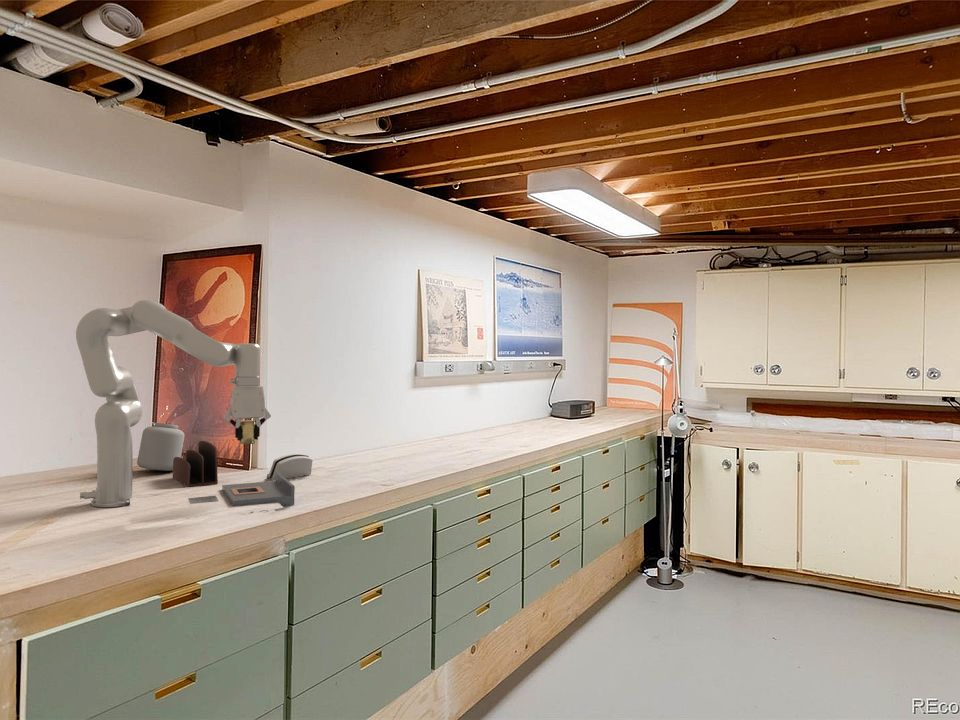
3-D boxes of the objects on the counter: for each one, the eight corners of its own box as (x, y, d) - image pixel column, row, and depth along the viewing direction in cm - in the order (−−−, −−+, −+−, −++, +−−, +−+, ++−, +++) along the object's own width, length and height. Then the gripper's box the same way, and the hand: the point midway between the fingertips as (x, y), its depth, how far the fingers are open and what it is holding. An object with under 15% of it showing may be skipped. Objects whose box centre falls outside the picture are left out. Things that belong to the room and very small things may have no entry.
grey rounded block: (303, 472, 254) (309, 449, 252) (310, 478, 251) (316, 455, 249) (265, 478, 241) (270, 454, 239) (271, 485, 238) (277, 460, 236)
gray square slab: (190, 508, 197) (190, 503, 196) (188, 502, 204) (188, 498, 203) (218, 506, 200) (218, 501, 200) (215, 500, 207) (215, 495, 207)
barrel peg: (241, 444, 205) (241, 422, 204) (238, 442, 209) (238, 420, 208) (256, 443, 207) (256, 421, 207) (253, 441, 211) (253, 420, 211)
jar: (169, 465, 264) (170, 403, 263) (196, 468, 258) (197, 405, 257) (127, 473, 247) (128, 407, 246) (156, 477, 241) (156, 409, 240)
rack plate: (233, 511, 195) (233, 491, 195) (222, 494, 216) (222, 476, 216) (294, 504, 204) (294, 485, 203) (278, 489, 225) (278, 471, 224)
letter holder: (200, 475, 246) (200, 438, 246) (217, 484, 231) (218, 445, 230) (172, 478, 240) (172, 440, 239) (188, 488, 224) (188, 447, 224)
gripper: (220, 383, 200) (220, 442, 200) (277, 382, 208) (277, 439, 208) (217, 382, 206) (217, 439, 207) (272, 381, 215) (272, 436, 215)
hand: (247, 439), depth 208 cm, fingers closed on barrel peg, 4 cm apart
